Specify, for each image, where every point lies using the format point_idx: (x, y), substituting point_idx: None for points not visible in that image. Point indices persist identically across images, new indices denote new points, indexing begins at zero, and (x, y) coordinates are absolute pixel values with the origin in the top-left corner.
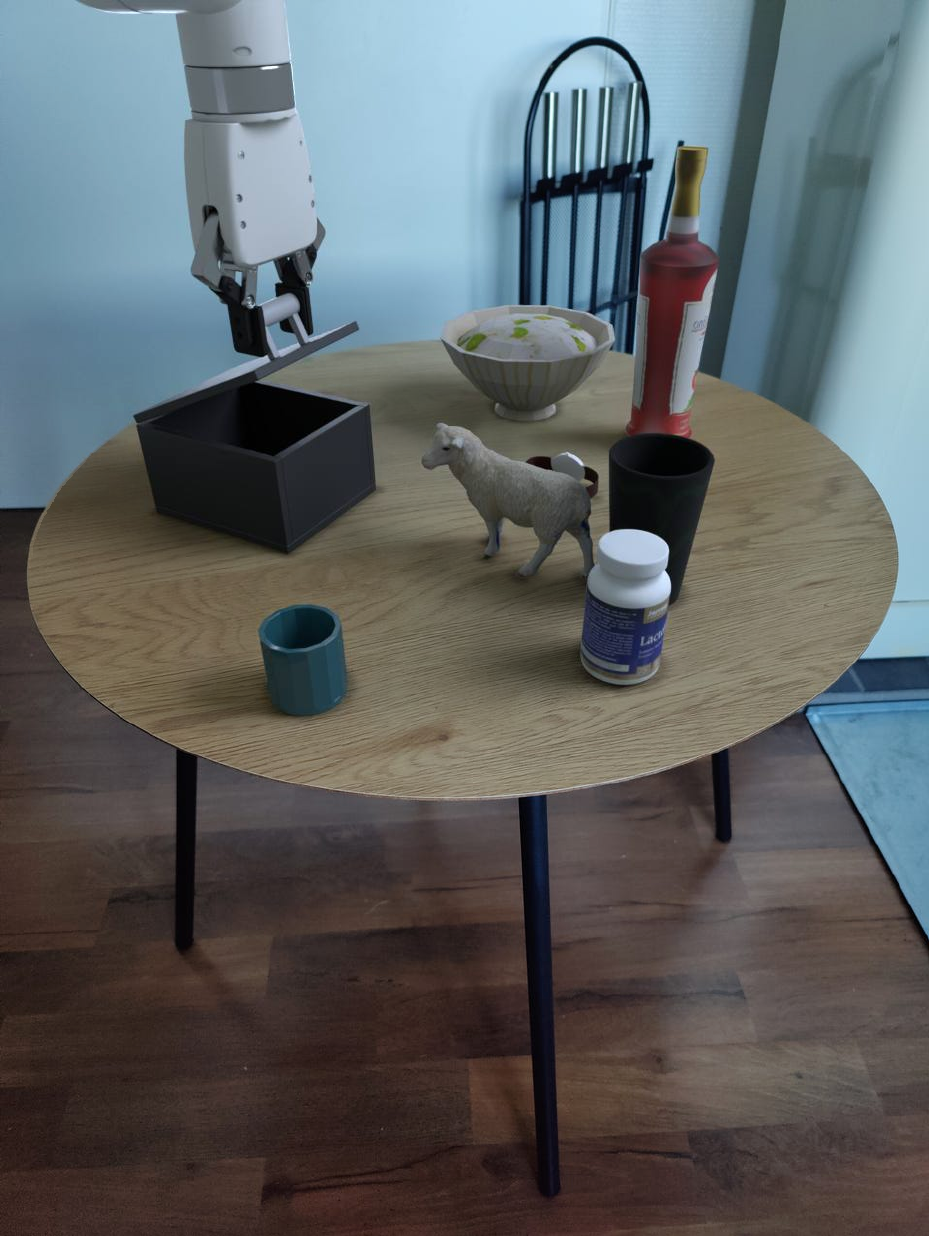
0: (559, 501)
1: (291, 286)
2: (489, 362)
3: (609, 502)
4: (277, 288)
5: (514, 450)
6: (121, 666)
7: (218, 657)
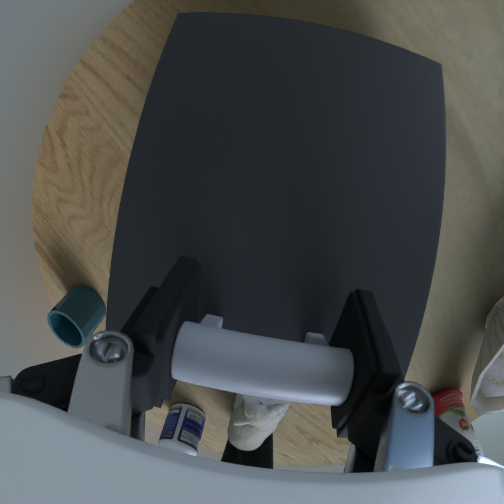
0: (229, 441)
1: (356, 412)
2: (489, 359)
3: (235, 456)
4: (368, 373)
5: (436, 332)
6: (46, 192)
7: (77, 243)
